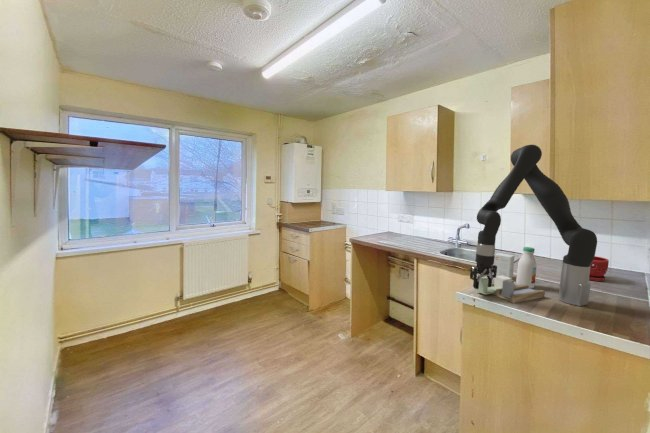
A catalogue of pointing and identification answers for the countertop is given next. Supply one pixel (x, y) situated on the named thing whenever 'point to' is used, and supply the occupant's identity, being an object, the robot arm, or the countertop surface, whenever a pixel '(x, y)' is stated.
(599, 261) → the plant pot
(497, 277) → the block
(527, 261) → the milk bottle
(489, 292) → the pale green bracket
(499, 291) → the lane board
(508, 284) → the slat grey
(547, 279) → the countertop surface
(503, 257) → the small box
